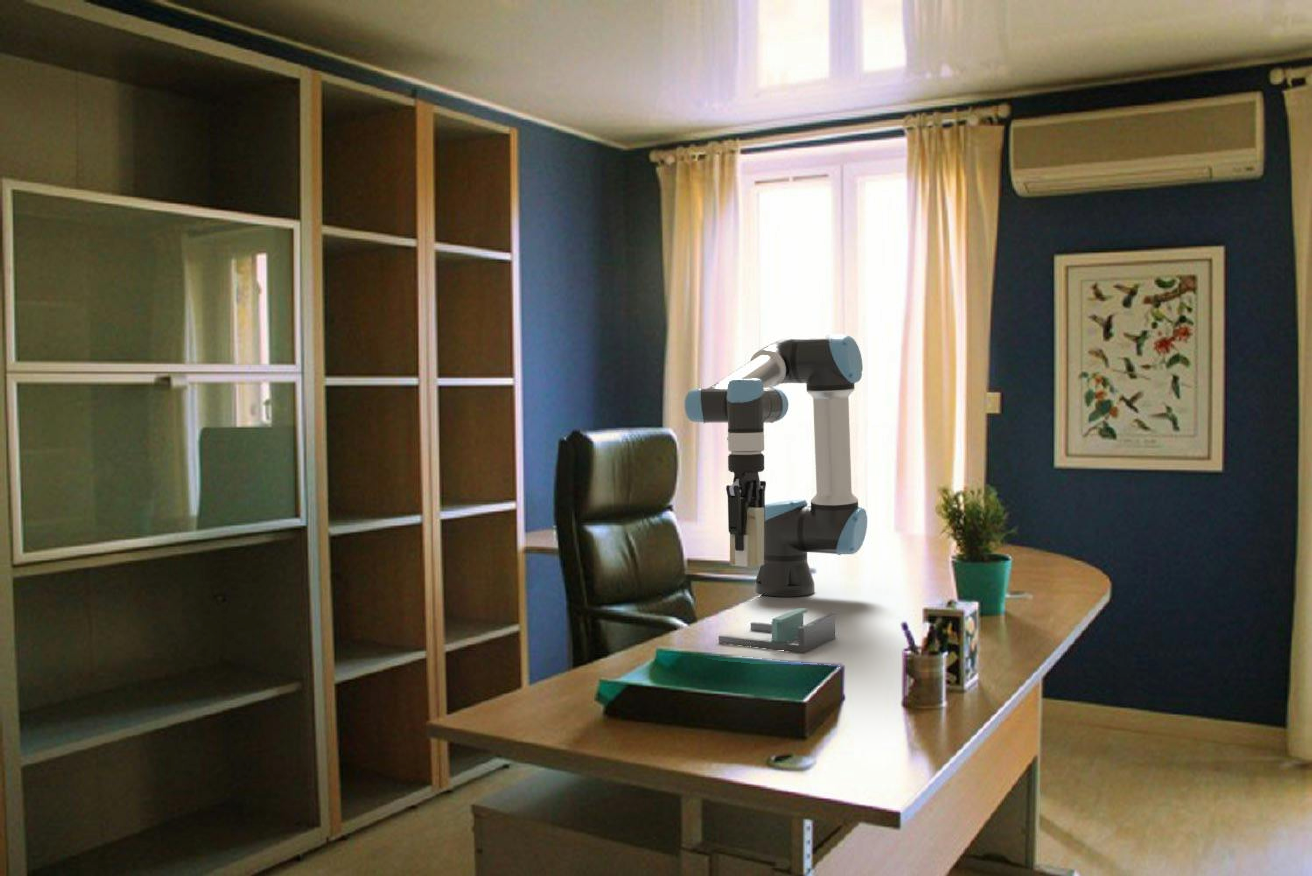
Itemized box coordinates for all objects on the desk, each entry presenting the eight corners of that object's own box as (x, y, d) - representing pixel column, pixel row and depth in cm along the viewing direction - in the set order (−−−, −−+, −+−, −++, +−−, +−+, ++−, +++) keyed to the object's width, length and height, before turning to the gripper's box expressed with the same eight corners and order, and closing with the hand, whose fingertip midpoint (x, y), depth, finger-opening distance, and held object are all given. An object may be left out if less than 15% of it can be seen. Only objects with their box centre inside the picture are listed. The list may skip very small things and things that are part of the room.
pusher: (791, 633, 238) (791, 607, 237) (807, 635, 236) (807, 608, 235) (765, 645, 227) (764, 618, 227) (781, 647, 225) (781, 619, 225)
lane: (753, 628, 244) (753, 606, 244) (835, 638, 234) (835, 614, 234) (718, 643, 231) (718, 619, 231) (804, 653, 221) (803, 628, 221)
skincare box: (729, 566, 235) (728, 508, 235) (738, 562, 239) (737, 505, 238) (756, 568, 232) (755, 509, 231) (765, 564, 236) (764, 507, 235)
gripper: (749, 450, 244) (750, 557, 245) (709, 455, 229) (711, 569, 230) (780, 450, 240) (782, 559, 241) (742, 455, 225) (743, 571, 226)
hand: (747, 564), depth 235 cm, fingers closed on skincare box, 4 cm apart
